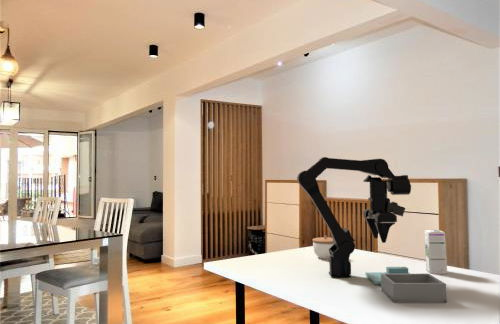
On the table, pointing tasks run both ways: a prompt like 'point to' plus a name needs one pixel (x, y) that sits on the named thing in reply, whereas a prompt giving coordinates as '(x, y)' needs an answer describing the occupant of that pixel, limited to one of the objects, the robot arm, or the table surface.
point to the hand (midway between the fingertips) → (379, 240)
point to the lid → (376, 276)
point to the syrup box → (435, 252)
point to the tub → (413, 288)
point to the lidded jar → (322, 246)
